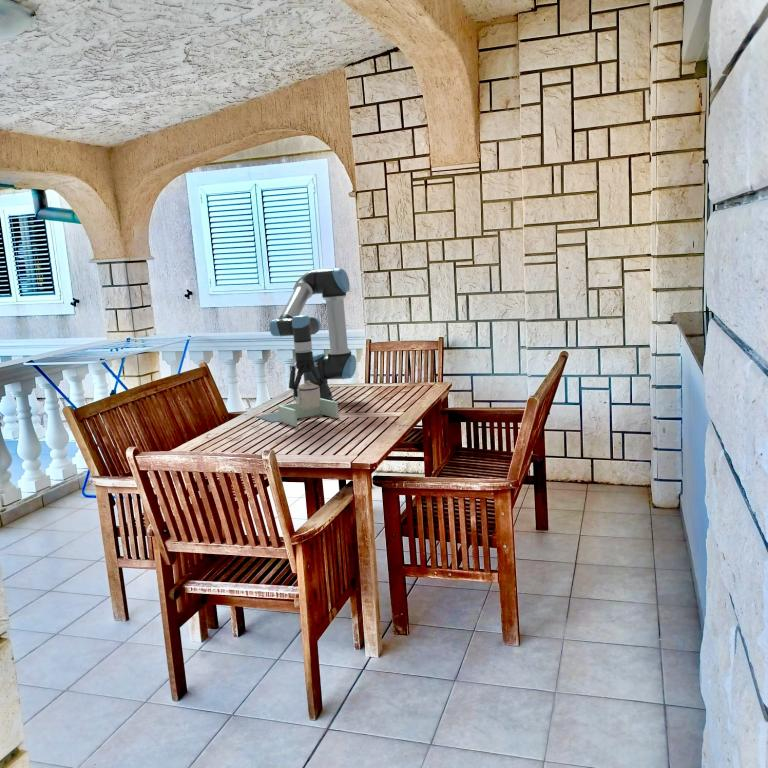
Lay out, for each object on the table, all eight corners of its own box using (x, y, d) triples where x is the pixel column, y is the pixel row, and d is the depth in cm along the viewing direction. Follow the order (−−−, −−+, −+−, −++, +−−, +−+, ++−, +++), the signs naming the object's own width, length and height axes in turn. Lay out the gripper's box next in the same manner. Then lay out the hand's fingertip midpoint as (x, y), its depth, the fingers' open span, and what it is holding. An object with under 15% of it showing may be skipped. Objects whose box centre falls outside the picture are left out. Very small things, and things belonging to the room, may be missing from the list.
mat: (291, 410, 349) (291, 409, 349) (308, 415, 334) (308, 414, 334) (255, 417, 339) (255, 416, 339) (272, 422, 324) (272, 421, 324)
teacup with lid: (323, 404, 326) (320, 378, 324) (316, 409, 317) (314, 382, 315) (297, 405, 329) (295, 379, 327) (290, 409, 320) (287, 383, 318)
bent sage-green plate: (321, 413, 337) (320, 398, 336) (338, 417, 324) (337, 402, 323) (279, 421, 326) (277, 405, 325) (295, 426, 313) (293, 410, 312)
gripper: (321, 347, 328) (326, 396, 332) (277, 354, 317) (282, 405, 321) (329, 348, 322) (334, 398, 326) (284, 355, 311) (290, 407, 314)
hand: (308, 402), depth 323 cm, fingers closed on teacup with lid, 9 cm apart
